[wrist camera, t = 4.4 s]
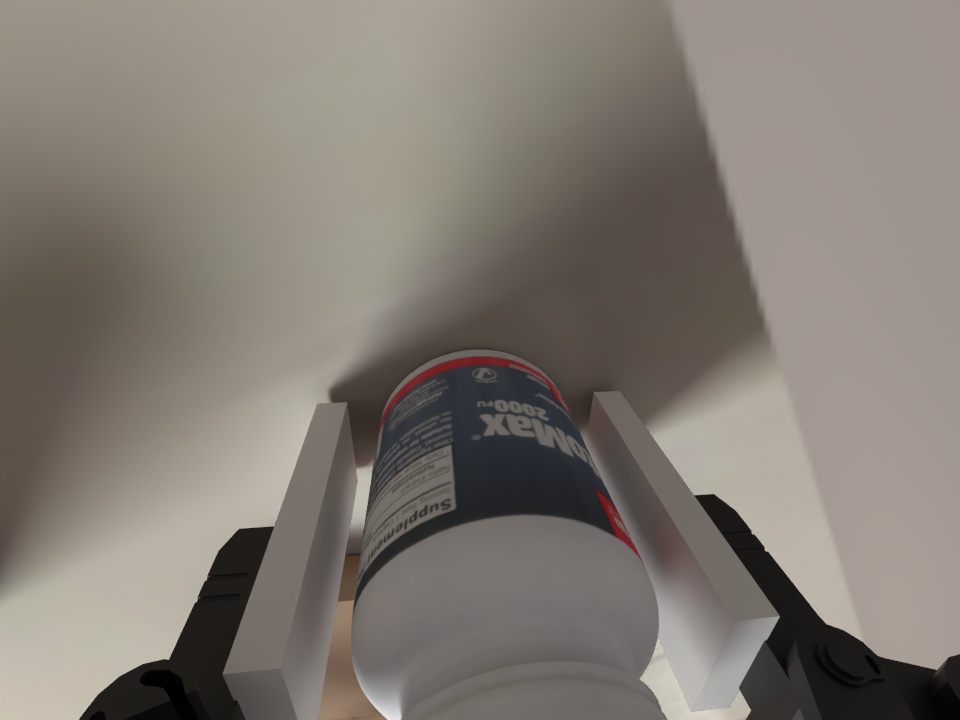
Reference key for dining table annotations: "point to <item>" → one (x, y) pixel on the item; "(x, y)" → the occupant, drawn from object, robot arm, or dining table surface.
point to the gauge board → (345, 659)
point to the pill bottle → (496, 558)
